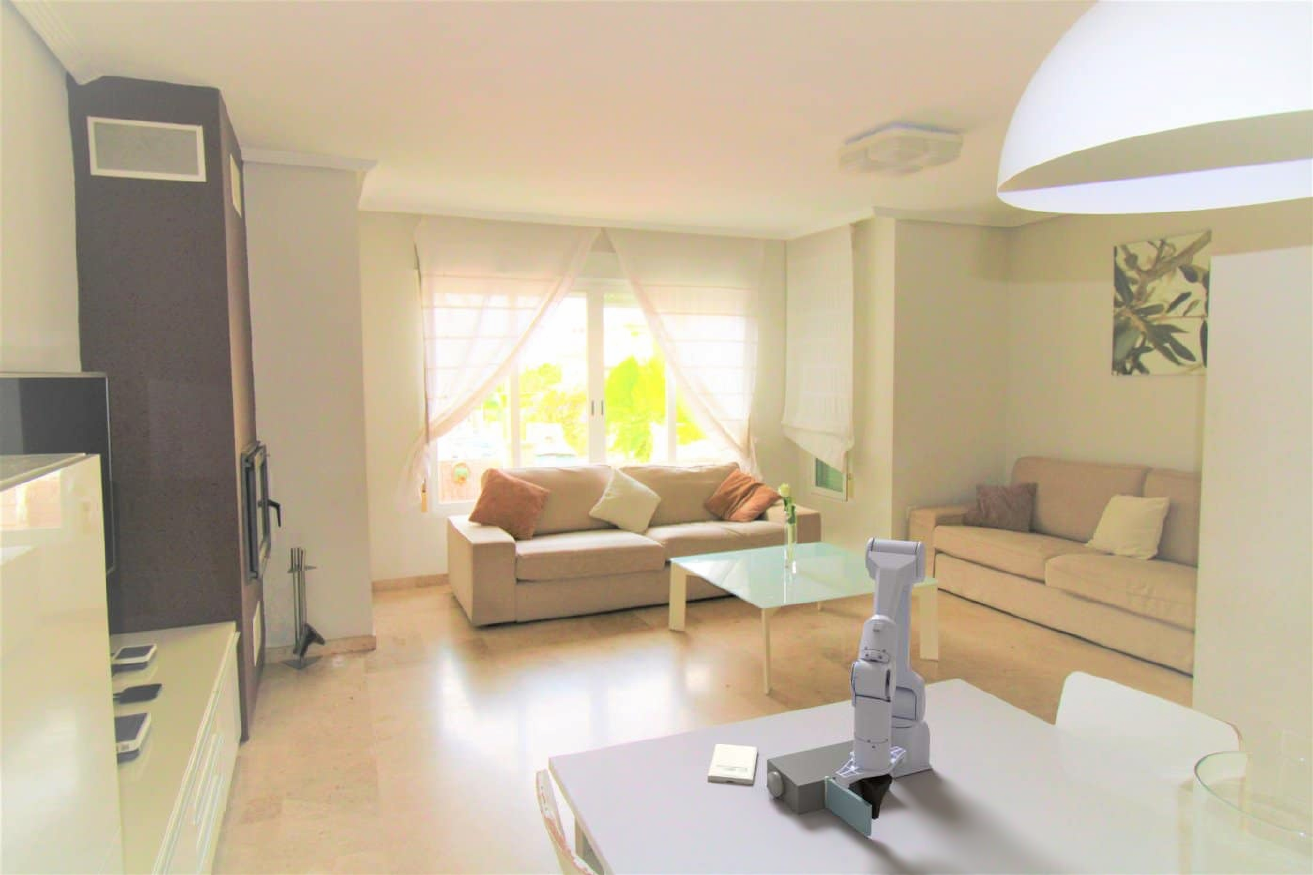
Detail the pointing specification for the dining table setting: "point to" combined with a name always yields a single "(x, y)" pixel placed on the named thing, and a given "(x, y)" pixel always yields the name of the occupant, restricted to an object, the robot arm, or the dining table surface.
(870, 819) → the side door
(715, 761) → the external hard drive
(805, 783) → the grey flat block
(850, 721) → the dining table surface
